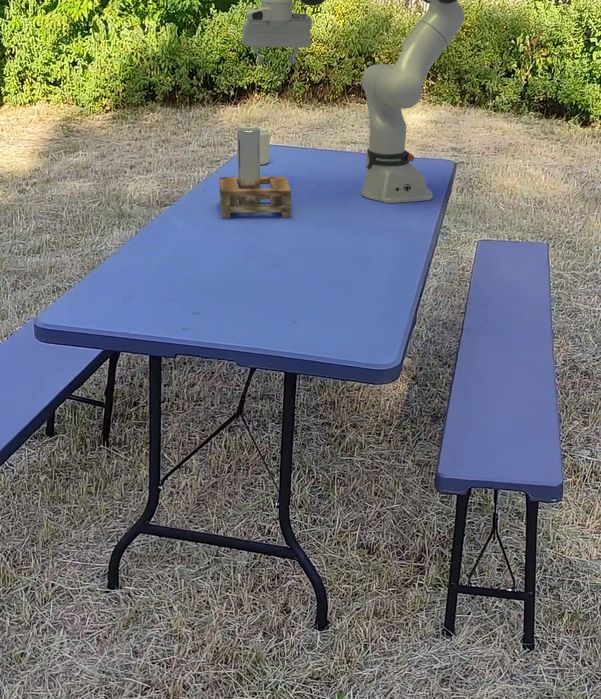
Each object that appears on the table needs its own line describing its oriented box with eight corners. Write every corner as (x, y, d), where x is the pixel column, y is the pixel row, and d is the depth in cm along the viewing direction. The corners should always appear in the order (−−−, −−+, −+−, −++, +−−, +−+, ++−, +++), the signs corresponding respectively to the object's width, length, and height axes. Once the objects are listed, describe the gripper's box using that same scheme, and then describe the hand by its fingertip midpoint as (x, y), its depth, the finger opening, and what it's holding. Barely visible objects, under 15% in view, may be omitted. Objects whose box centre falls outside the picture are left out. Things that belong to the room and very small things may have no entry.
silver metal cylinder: (259, 213, 251) (259, 128, 239) (237, 213, 251) (236, 127, 239) (261, 206, 257) (260, 122, 245) (239, 206, 257) (238, 122, 245)
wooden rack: (285, 202, 262) (285, 176, 258) (290, 217, 248) (291, 190, 245) (220, 203, 259) (219, 177, 256) (221, 218, 246) (221, 191, 243)
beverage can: (244, 164, 300) (244, 130, 295) (249, 159, 307) (249, 125, 302) (266, 166, 299) (266, 131, 294) (271, 160, 306) (271, 127, 301)
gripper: (310, 12, 253) (309, 61, 259) (241, 11, 250) (242, 61, 257) (313, 14, 247) (312, 64, 253) (242, 13, 245) (243, 64, 251)
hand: (276, 62), depth 255 cm, fingers open, 8 cm apart
